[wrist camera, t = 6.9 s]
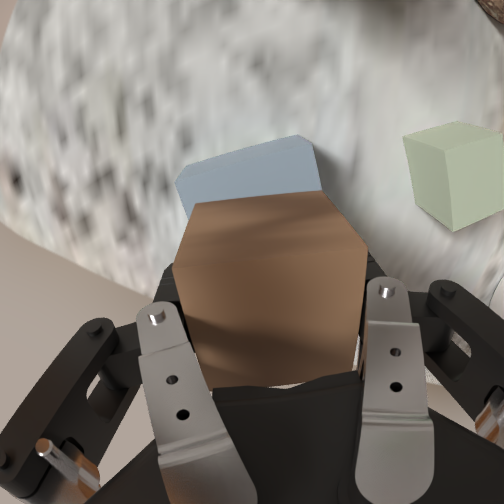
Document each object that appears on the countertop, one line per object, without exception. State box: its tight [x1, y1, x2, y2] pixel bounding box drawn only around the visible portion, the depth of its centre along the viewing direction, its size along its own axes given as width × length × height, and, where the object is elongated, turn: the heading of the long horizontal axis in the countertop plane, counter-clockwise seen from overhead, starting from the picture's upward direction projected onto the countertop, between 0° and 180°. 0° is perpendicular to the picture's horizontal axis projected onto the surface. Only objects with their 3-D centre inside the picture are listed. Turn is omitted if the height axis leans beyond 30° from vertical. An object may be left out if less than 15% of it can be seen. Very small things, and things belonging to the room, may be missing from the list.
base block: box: [174, 135, 322, 220], centre depth 18 cm, size 7×7×4 cm
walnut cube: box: [172, 190, 368, 391], centre depth 11 cm, size 5×5×5 cm
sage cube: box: [402, 121, 504, 232], centre depth 16 cm, size 5×5×5 cm
